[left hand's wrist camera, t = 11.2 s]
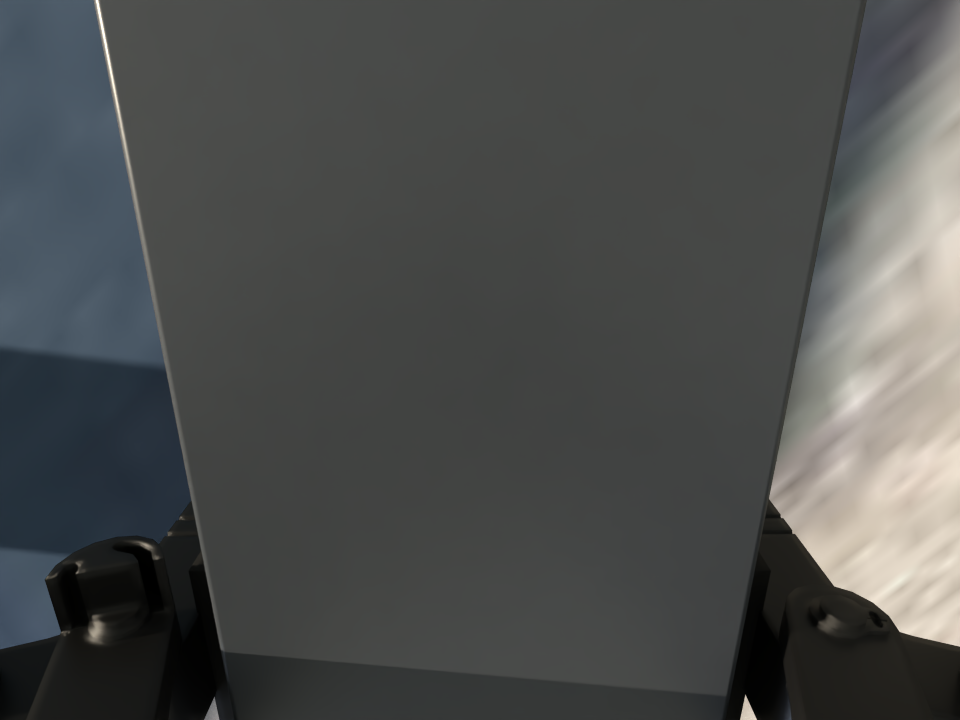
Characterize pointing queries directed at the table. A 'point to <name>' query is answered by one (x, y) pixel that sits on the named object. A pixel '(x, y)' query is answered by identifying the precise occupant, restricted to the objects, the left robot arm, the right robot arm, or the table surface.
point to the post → (480, 333)
